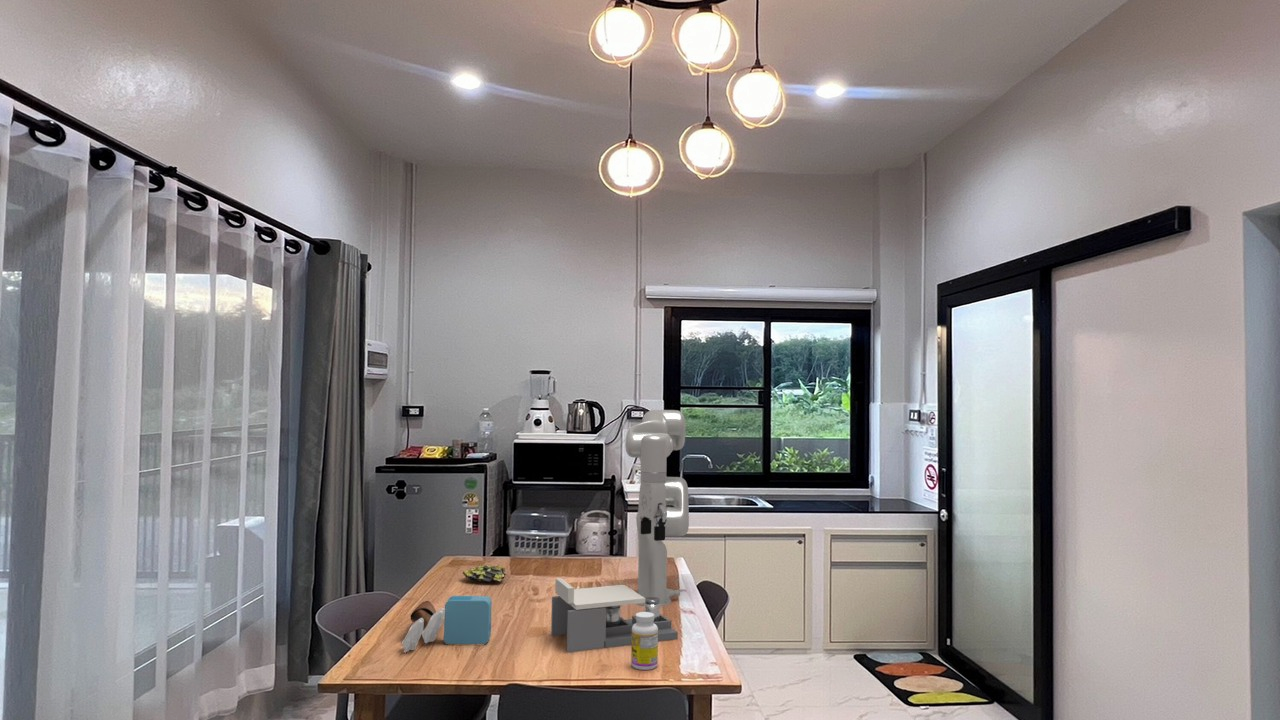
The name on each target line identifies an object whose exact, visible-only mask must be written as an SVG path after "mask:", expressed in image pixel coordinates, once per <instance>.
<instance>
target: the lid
mask: <svg viewBox="0 0 1280 720" xmlns="http://www.w3.org/2000/svg"><path fill="white" fill-rule="evenodd" d="M554 584H555V587H554V588H555V590H554V591H555V594H556V596H560V597H561V598H562V599H563V600H564V601H565V602H567V603H568V604H570V605H571V606H572V607H573V608H575V609H576V610H578V609H589V608H598V607H608V606H618V605H621V606H627V605H637V604H638V603H645V598H644V597H643V596H641V595H639V594H638V592H637V591H635V590H633V589H632V588H630V587H628V586H627V585H625V584H619V585H618V584H617V585H616V584H615V585H605V586H594V587H593V586H592V587H583V588H582V587H581V588H575V587H573V586H572V585H571V584H570V583H568V582H567V581H565V579H563V578H562V577H556V578H555V583H554Z"/></svg>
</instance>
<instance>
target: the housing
mask: <svg viewBox="0 0 1280 720" xmlns="http://www.w3.org/2000/svg"><path fill="white" fill-rule="evenodd" d="M550 618H551V626H550V628H551V629H550V635H551V637H555V636H556V637H557V636H562V635H563V636H564V635H566V638H567V639H566V653H568V654H569V653H570V654H571V653H578V652H586V651H587V652H588V651H593V650H602V649H611V648H618V647H619V648H620V647H626V646H627V647H628V646H632V626H633V625H634V624H635V623H637V621H636V615H631V618H628V619H624V618H623V617H621V616H620V626H616V627H607V628H606V607H598V608H588V609H578V610H576V609H575V608H573V607H572V606H571V605H570V604H568V603H567V602H565V601H564V600H563V599H562V598H561V597H560V596H559V595H555V596H554V595H553V596H551V617H550ZM653 623H654V624H656V625H657V627H658V643H659V642H667V641H675V640H679V639H678V636H679V634H678V633H679V632H678V631H677V630H675V629H674V628H673V627H672V620H670V619H669V618H668V617H666V616H665V615H662V613H660V622H653Z"/></svg>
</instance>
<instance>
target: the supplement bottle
mask: <svg viewBox="0 0 1280 720" xmlns="http://www.w3.org/2000/svg"><path fill="white" fill-rule="evenodd" d="M635 616H636V621H637V623H635V624H634V625H633V626H632V645H631V653H630V655H631V656H630V657H631V659H630V663H631V667H632V668H634V669H636V670H640V671H650V670H653V669H656V668H657V666H658V661H659V660H658V653H659V652H658V651H659V649H658V647H659V642H658V627H657V625H656V624H654V623H653V621H654V614H653V613H651V612H644V611H640V612H636V613H635Z"/></svg>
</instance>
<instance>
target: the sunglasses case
mask: <svg viewBox="0 0 1280 720" xmlns="http://www.w3.org/2000/svg"><path fill="white" fill-rule="evenodd" d="M436 612H437V611H436V609H435V606H434V604H432V602H430V601H429V600H425V601H422V603H420V604H419V605H418V606H416V607H415V609H414V610H413V611H412V612H411V613H410V621H411V622H412V623H413V624H414V623H415V622H416V621H417V620H418V619H420V618H423V620H424V625H423V631H424V630H425V628H426V626H427V624H428V622H429V620H430V619H431V617H432V615H433V614H434V613H436Z"/></svg>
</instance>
